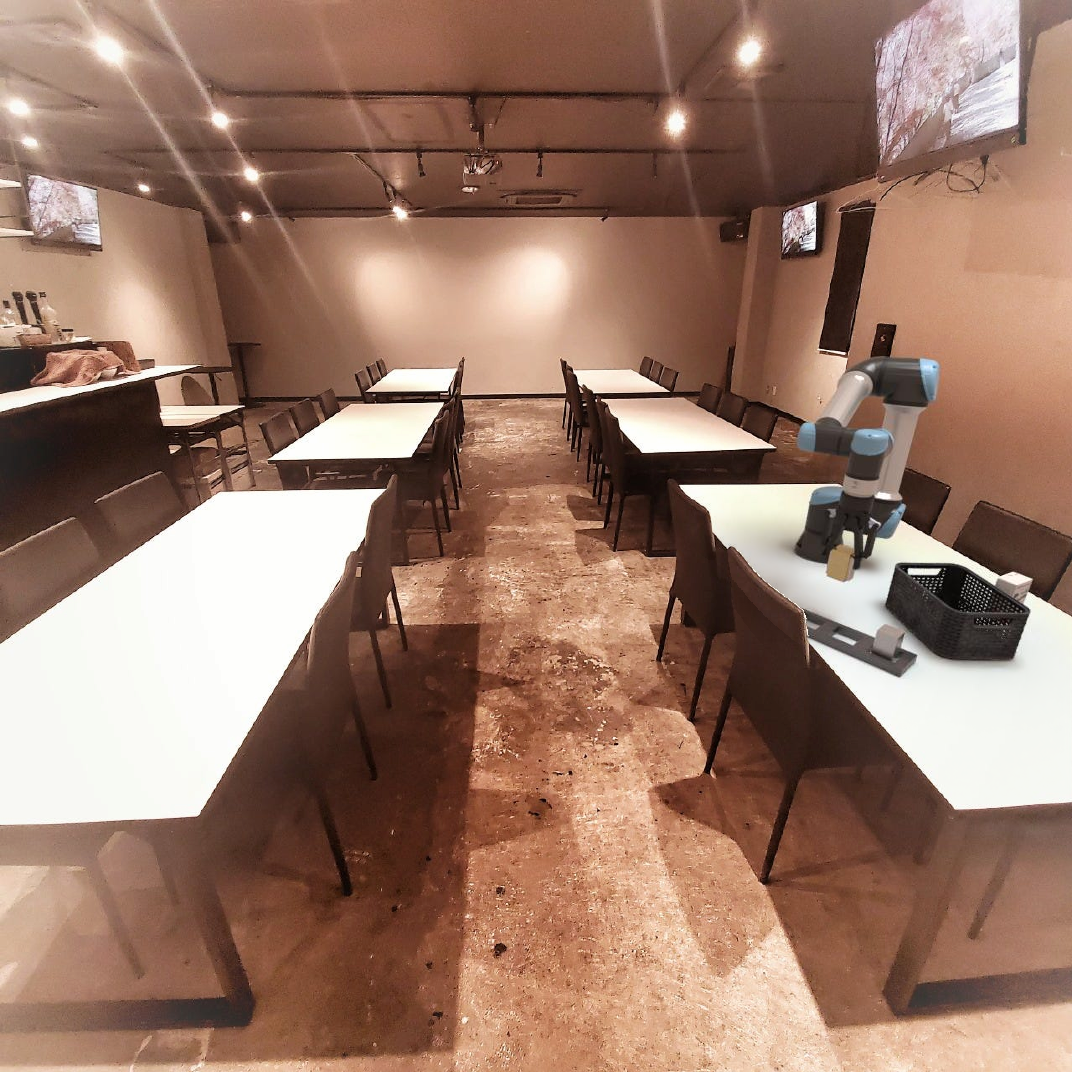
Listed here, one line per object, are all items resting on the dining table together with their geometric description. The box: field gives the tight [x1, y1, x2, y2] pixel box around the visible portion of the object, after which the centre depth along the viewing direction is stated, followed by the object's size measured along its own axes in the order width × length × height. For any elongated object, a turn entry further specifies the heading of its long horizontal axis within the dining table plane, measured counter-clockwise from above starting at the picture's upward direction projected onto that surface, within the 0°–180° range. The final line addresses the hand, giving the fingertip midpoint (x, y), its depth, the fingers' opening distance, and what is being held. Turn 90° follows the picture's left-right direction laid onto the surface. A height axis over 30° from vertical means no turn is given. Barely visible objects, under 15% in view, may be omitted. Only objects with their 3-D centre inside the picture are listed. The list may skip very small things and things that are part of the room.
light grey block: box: [870, 623, 906, 663], centre depth 142 cm, size 5×5×8 cm
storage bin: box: [884, 561, 1031, 661], centre depth 153 cm, size 29×19×13 cm
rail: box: [801, 607, 918, 678], centre depth 149 cm, size 30×9×2 cm, turn 40°
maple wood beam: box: [826, 544, 854, 583], centre depth 155 cm, size 5×5×8 cm
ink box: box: [987, 571, 1034, 622], centre depth 160 cm, size 9×5×12 cm, turn 117°
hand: (839, 575), depth 156 cm, fingers closed on maple wood beam, 5 cm apart
